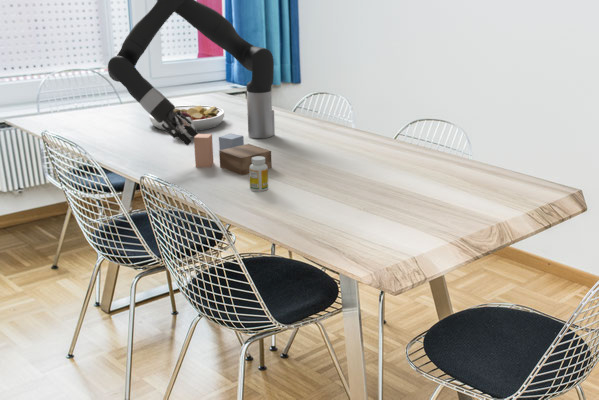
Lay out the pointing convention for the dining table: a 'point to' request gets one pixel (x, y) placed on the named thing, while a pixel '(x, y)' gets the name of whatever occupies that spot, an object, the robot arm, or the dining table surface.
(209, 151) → the pillar block
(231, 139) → the slate cube
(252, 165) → the supplement bottle
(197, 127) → the bowl
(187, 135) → the die
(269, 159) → the walnut block
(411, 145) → the dining table surface
